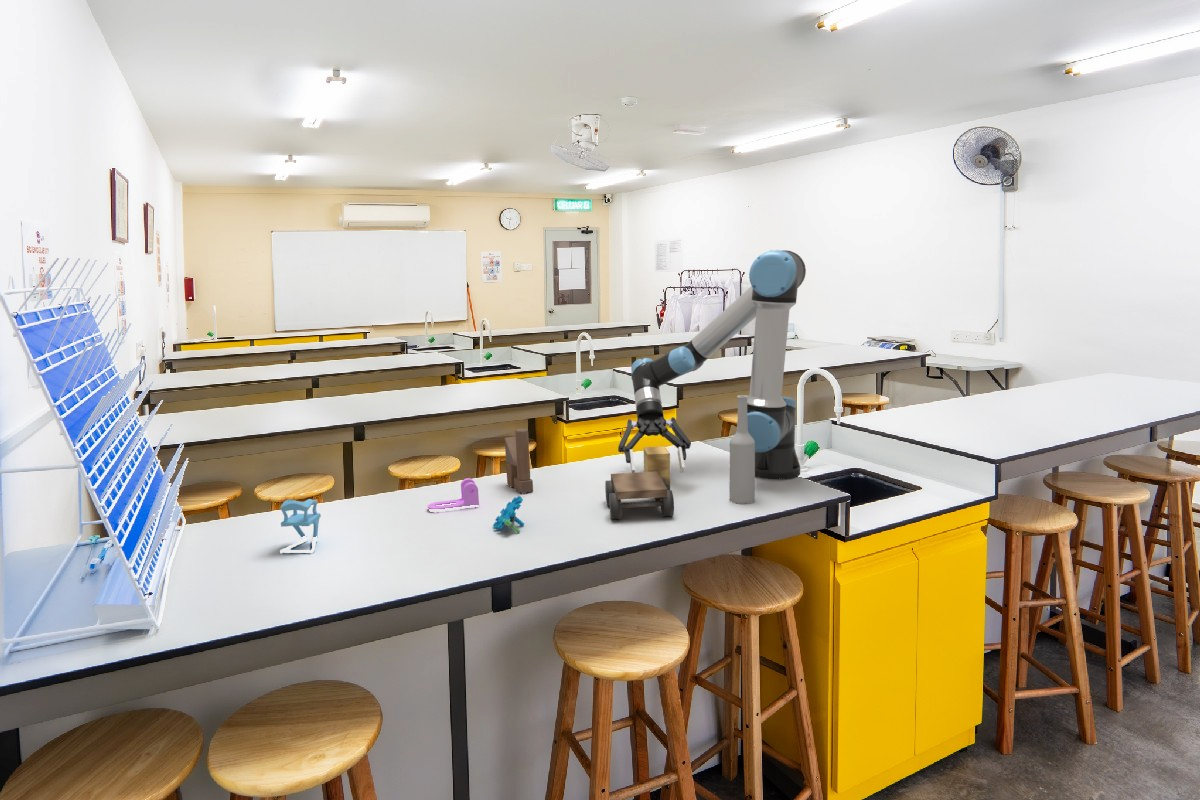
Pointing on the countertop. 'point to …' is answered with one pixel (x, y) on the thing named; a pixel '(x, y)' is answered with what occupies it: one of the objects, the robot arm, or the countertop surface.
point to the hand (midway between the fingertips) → (658, 471)
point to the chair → (300, 515)
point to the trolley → (638, 492)
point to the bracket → (468, 496)
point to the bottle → (742, 459)
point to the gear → (509, 515)
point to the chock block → (658, 462)
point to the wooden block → (518, 461)
